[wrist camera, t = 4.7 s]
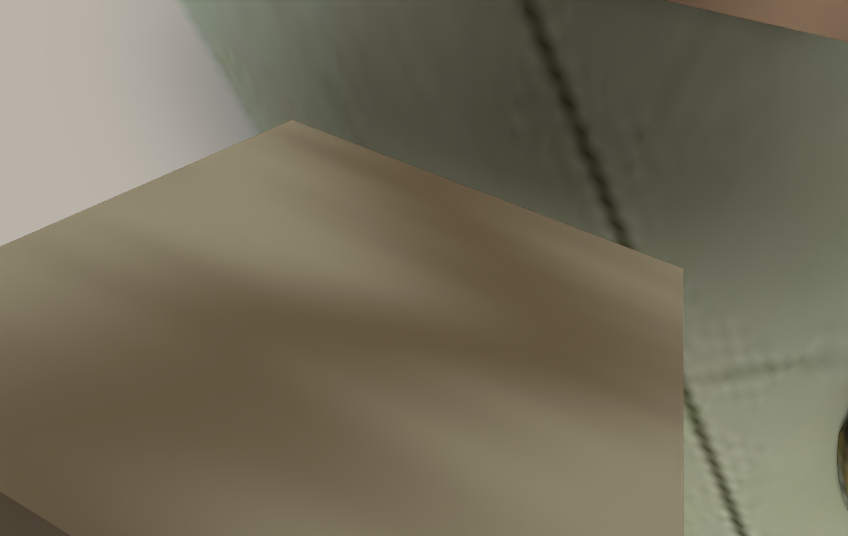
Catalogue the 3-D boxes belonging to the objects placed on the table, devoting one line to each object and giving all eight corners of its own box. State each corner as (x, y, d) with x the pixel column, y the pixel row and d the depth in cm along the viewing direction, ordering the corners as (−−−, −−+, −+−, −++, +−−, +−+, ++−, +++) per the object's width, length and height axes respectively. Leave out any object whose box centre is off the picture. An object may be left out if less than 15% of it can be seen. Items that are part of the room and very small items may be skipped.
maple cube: (683, 268, 7) (685, 916, 2) (534, 517, 11) (410, 993, 6) (292, 120, 8) (-230, 347, 4) (271, 385, 12) (-13, 685, 7)
